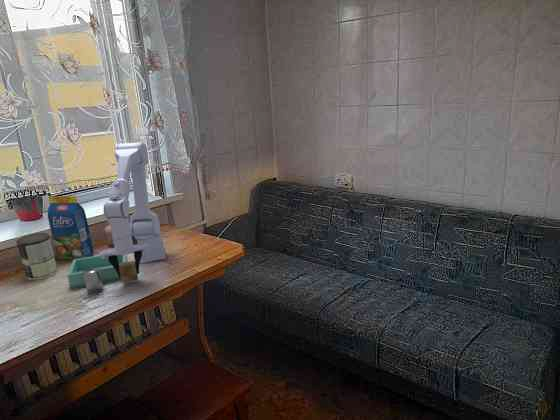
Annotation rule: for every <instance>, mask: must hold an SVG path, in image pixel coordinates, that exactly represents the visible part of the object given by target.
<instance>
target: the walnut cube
mask: <svg viewBox="0 0 560 420" xmlns="http://www.w3.org/2000/svg"><path fill="white" fill-rule="evenodd" d="M119 271H120V276H121V280H120V281H121V284H124V283H129V282H134V281H138V280H139V277H138V276H139V274H137V271H136V263H135V259H134V260H130V261H129V260H128V262H123V263H120V264H119Z"/></svg>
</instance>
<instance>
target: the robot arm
mask: <svg viewBox="0 0 560 420" xmlns="http://www.w3.org/2000/svg"><path fill="white" fill-rule="evenodd" d="M114 157H115V159H116V161H117V163H118V164H117V170H116V171H117V173H116V179H115V180H113V181H112V183H111V188H110V192H109V196H108V200H107V201H105V202H104V204H103V215H104V217H105V219H106V222H107V225H110V228H111V233H112V238H113V243H114V246H113V247H114V248H110V249H106V250H103V251H100V253H99V255H101V259H105V258H109V262H110V264H111V265H112V266H113V267H114V268H115V270H116V271H117V273H118V276H119V277H121V276H120V271H119V261H118V256H119V255H126V254H127V255H130V254H133V258H134V260H135V263H136V271H137V274H138V275H139V274H140V264H144V263H148V262H154V261H160V260H166V258H167V257H166V247H165V246H164V244H165V243H164V239H163V234H162V233H160V232H161V224H160V223H161V222H160V219H159V216H158V214H157V213H155V212H154V211H153V210H152V209H150V202H149V195H148V193H149V192H148V186H147V184H148V183H147V176H146V166H147V165H149V153H148V147H147V145H146V144H145V143H144V141H140V142H139V141H138V142H126V143H125V142H124V143H118V142H117V143H116V144H115V146H114ZM130 175H131V176H130ZM130 177H131V182H132V190H133V191H132V192H133V200H134V208H135V212H133V214H131V216H130V217H129V215H130V209H131V207H130V200H129V197H130V193H131V192H130V191H131V184H130V182H129V179H130ZM131 234H132V235H133V236H135V239H137V243H138V244H137V245H133V242H132V236H131Z"/></svg>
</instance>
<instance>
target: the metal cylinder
mask: <svg viewBox="0 0 560 420" xmlns="http://www.w3.org/2000/svg"><path fill="white" fill-rule="evenodd" d="M83 276H84V280H85V285H86V286H85V288H86V293H87V294H88V295H96V294H99V293H102V292H103V291H104V290H105V289H104V285H103V284H104V283H102V278H101V273H100V269H99V268H90V269H87V270H85V271H84V272H83Z"/></svg>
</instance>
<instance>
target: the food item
mask: <svg viewBox="0 0 560 420" xmlns="http://www.w3.org/2000/svg"><path fill="white" fill-rule="evenodd" d="M103 232H104V235H105V237H106V242H107V246H108V247H114V243H113V238H112V233H111V228H110V224H108V225H107V226H106V227H105V228H103ZM131 236H132V242H133V245H138V243H137V239H135V236H133V235H132V234H131Z"/></svg>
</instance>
